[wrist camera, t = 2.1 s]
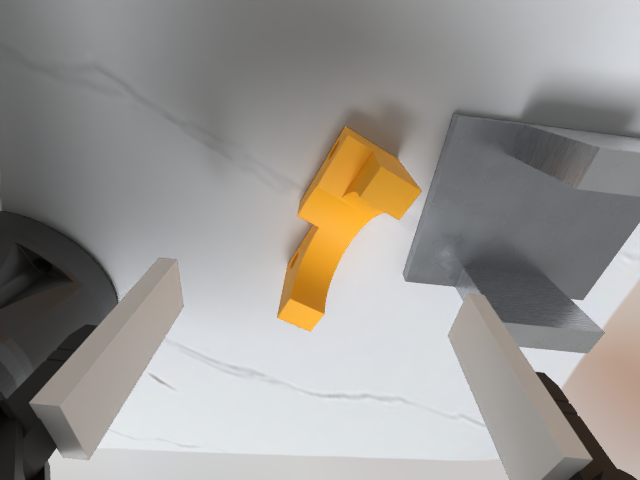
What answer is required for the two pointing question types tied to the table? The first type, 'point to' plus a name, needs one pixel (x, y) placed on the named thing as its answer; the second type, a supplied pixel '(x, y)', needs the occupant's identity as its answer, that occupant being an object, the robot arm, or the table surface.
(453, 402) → the table surface
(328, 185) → the orange angled block
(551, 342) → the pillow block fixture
